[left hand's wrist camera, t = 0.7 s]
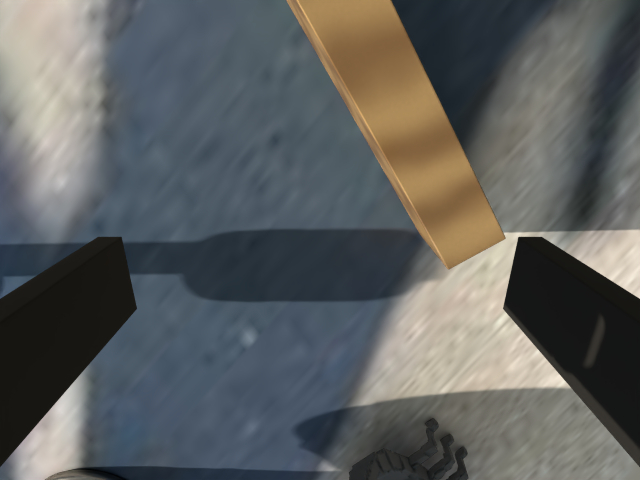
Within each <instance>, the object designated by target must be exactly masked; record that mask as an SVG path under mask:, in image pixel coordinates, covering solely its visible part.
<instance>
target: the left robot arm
mask: <svg viewBox="0 0 640 480" xmlns="http://www.w3.org/2000/svg"><path fill="white" fill-rule="evenodd" d="M136 309H137V307H136V302H135V298H134V293H133V288H132V284H131V279H130V274H129V270H128V265H127V260H126V256H125V251H124V246H123V242H122V237H97V238H96V239H94V240H93V241H91V242H90V243H88V244H86V245H85V246H83V247H82V248H80V249H78V250H77V251H75V252H74V253H72V254H71V255H69V256H67V257H66V258H64V259H63V260H61V261H59V262H58V263H56V264H55V265H53V266H52V267H50V268H48V269H47V270H45V271H44V272H42V273H40V274H39V275H37V276H36V277H34V278H33V279H31V280H29V281H28V282H26V283H25V284H23V285H21V286H20V287H18V288H17V289H15V290H14V291H12V292H10V293H9V294H7V295H6V296H4V297H2V298H1V299H0V467H1V465H2V464H3V463H4V462H5V461H6V460H7V458H8V457H9V456H10V455H11V454H12V453H13V452H14V450H15V449H16V448H17V447H18V446H19V445H20V443H21V442H22V441H23V440H24V439H25V438H26V437H27V435H28V434H29V433H30V432H31V431H32V430H33V428H34V427H35V426H36V425H37V424H38V423H39V421H40V420H41V419H42V418H43V417H44V416H45V415H46V413H47V412H48V411H49V410H50V409H51V408H52V406H53V405H54V404H55V403H56V402H57V401H58V399H59V398H60V397H61V396H62V395H63V394H64V393H65V391H66V390H67V389H68V388H69V387H70V386H71V384H72V383H73V382H74V381H75V380H76V379H77V377H78V376H79V375H80V374H81V373H82V372H83V371H84V369H85V368H86V367H87V366H88V365H89V364H90V362H91V361H92V360H93V359H94V358H95V357H96V355H97V354H98V353H99V352H100V351H101V350H102V349H103V347H104V346H105V345H106V344H107V343H108V342H109V340H110V339H111V338H112V337H113V336H114V335H115V334H116V332H117V331H118V330H119V329H120V328H121V327H122V325H123V324H124V323H125V322H126V321H127V320H128V318H129V317H130V316H131V315H132V314H133V313H134V312H135V310H136ZM503 309H504V310H505V312H506V313H507V314H508V315H509V316H510V317H511V318H512V320H513V321H514V322H515V323H516V324H517V325H518V327H519V328H520V329H521V330H522V331H523V332H524V334H525V335H526V336H527V337H528V338H529V339H530V340H531V342H532V343H533V344H534V345H535V346H536V347H537V349H538V350H539V351H540V352H541V353H542V354H543V355H544V357H545V358H546V359H547V360H548V361H549V362H550V364H551V365H552V366H553V367H554V368H555V369H556V371H557V372H558V373H559V374H560V375H561V376H562V377H563V379H564V380H565V381H566V382H567V383H568V384H569V386H570V387H571V388H572V389H573V390H574V391H575V393H576V394H577V395H578V396H579V397H580V398H581V399H582V401H583V402H584V403H585V404H586V405H587V406H588V408H589V409H590V410H591V411H592V412H593V413H594V415H595V416H596V417H597V418H598V419H599V420H600V421H601V423H602V424H603V425H604V426H605V427H606V428H607V430H608V431H609V432H610V433H611V434H612V435H613V437H614V438H615V439H616V440H617V441H618V442H619V443H620V445H621V446H622V447H623V448H624V449H625V450H626V452H627V453H628V454H629V455H630V456H631V457H632V458H633V460H634V461H635V462H636V463H637V464H638V465H639V467H640V299H639V298H638V297H636V296H634V295H633V294H631V293H630V292H628V291H626V290H625V289H623V288H622V287H620V286H619V285H617V284H615V283H614V282H612V281H611V280H609V279H607V278H606V277H604V276H603V275H601V274H600V273H598V272H596V271H595V270H593V269H592V268H590V267H588V266H587V265H585V264H584V263H582V262H581V261H579V260H577V259H576V258H574V257H573V256H571V255H569V254H568V253H566V252H565V251H563V250H562V249H560V248H558V247H557V246H555V245H554V244H552V243H550V242H549V241H547V240H546V239H544V238H543V237H518V242H517V246H516V251H515V256H514V260H513V265H512V270H511V274H510V279H509V284H508V288H507V293H506V298H505V302H504V307H503ZM45 480H123V479H121V478H119V477H116V476H114V475H111V474H108V473H104V472H100V471H94V470H69V471H64V472H60V473H57V474H54V475H52V476H50V477H48V478H47V479H45Z"/></svg>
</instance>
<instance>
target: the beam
mask: <svg viewBox="0 0 640 480" xmlns="http://www.w3.org/2000/svg"><path fill="white" fill-rule="evenodd" d="M287 2H288V4H289V5H290V7H291V9H292V11H293V12H294V14H295V16H296V18H297V19H298V21H299V23H300V25H301V26H302V28H303V30H304V32H305V33H306V35H307V37H308V39H309V40H310V42H311V44H312V46H313V48H314V49H315V51H316V53H317V55H318V56H319V58H320V60H321V62H322V63H323V65H324V67H325V69H326V70H327V72H328V74H329V76H330V77H331V79H332V81H333V83H334V84H335V86H336V88H337V90H338V91H339V93H340V95H341V97H342V98H343V100H344V102H345V104H346V105H347V107H348V109H349V111H350V112H351V114H352V116H353V118H354V119H355V121H356V123H357V125H358V126H359V128H360V130H361V132H362V133H363V135H364V137H365V139H366V140H367V142H368V144H369V146H370V147H371V149H372V151H373V153H374V154H375V156H376V158H377V160H378V161H379V163H380V165H381V167H382V168H383V170H384V172H385V174H386V175H387V177H388V179H389V181H390V182H391V184H392V186H393V188H394V189H395V191H396V193H397V195H398V196H399V198H400V200H401V202H402V203H403V205H404V207H405V209H406V210H407V212H408V214H409V216H410V217H411V219H412V221H413V223H414V224H415V226H416V228H417V230H418V231H419V233H420V235H421V236H422V237H423V239H424V240H425V241H426V242H427V244H428V245H429V246H430V247H431V249H432V250H433V251H434V252H435V254H436V255H437V256H438V257H439V259H440V260H441V261H442V262H443V264H444V265H445V266H446V267H447V269H451V268H452V267H454V266H456V265H458V264H460V263H462V262H463V261H465V260H467V259H469V258H471V257H473V256H475V255H476V254H478V253H480V252H482V251H484V250H486V249H488V248H489V247H491V246H493V245H495V244H497V243H499V242H500V241H502V240H504V239H506V238H505V235H504V233H503V231H502V229H501V227H500V225H499V223H498V221H497V219H496V217H495V215H494V213H493V211H492V208H491V206H490V204H489V202H488V200H487V198H486V196H485V194H484V192H483V190H482V188H481V186H480V184H479V181H478V179H477V177H476V175H475V173H474V171H473V169H472V167H471V165H470V163H469V161H468V159H467V157H466V154H465V152H464V150H463V148H462V146H461V144H460V142H459V140H458V138H457V136H456V134H455V132H454V130H453V127H452V125H451V123H450V121H449V119H448V117H447V115H446V113H445V111H444V109H443V107H442V105H441V103H440V100H439V98H438V96H437V94H436V92H435V90H434V88H433V86H432V84H431V82H430V80H429V78H428V76H427V73H426V71H425V69H424V67H423V65H422V63H421V61H420V59H419V57H418V55H417V53H416V51H415V49H414V46H413V44H412V42H411V40H410V38H409V36H408V34H407V32H406V30H405V28H404V26H403V24H402V22H401V19H400V17H399V15H398V13H397V11H396V9H395V7H394V5H393V3H392V1H391V0H287Z"/></svg>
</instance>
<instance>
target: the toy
mask: <svg viewBox="0 0 640 480" xmlns="http://www.w3.org/2000/svg"><path fill="white" fill-rule="evenodd" d="M425 424H426V426H427V427H428V428H427V429H426V433H427V436H428V442H427V443H426V444H425V445H423V446H422V447H421V449H420V450H419V451H417V452H416V453H414V454H413V455H411V456H410V457H409V458H407V457H404V456H402V455H399V454H397V453H395V452H394V453H393V452H392V451H388V450H387V449H385V448H383V449H382V450H380V451H378V452H377V453H375V452H373V453H372V454H370V455H369V456H367V457H366V458H364V459H363V460H361V461H360V462H358V463H356V464H355V465H354V466H352V467H353V470H352V471H351V472H349V474H350V477H349V480H439V479H441V478H442V477H443V475H444V474H445V472H447V471H448V470H450V469H451V468H452V466H453V465H454V463H455V460H454V457H453V455H452V452H451V450H450V447H449V446H450V445H451V444H452V443H453V442H454V439H453V437H452V436H451V435H450V434H449V435H448V436H446V437H444V438H443V439H441V440H440V441H441V444H442V446H443V449H444V452H445V453H444V454H443V456H444V458H443V459H441V460H440V461H439V462H438V463H436V464H435V465H434V466H433V467H431V468H430V470H429V471H428V470H427V469H426V468H425V467H423V466H422V465H420V464H421V463H423V462H424V461H426V460H427V459H428V458H430V457H431V456H432V455H433V454H435V453H436V452H437V451H438V450H437V447H436V446H437V444H436V442H435V440H434V431H435V430H436V429H437V428H438V427H439V425H438V423H437V422H436V421H435V420H434V419H431V420H430V421H428V422H427V423H425ZM467 454H468V453H467V450H466V449H465V448H464V447H462V448H461V449H459V450H458V451H457V452H456V453H455V457H456V461H457V464H458V469H457V471H456V472H455V473H454V474H452V475H451V476H449V478H448V479H447V480H467V479H468V475H467V471H466V468H465V465H464V461H463V458H465V457H466V456H467Z"/></svg>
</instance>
